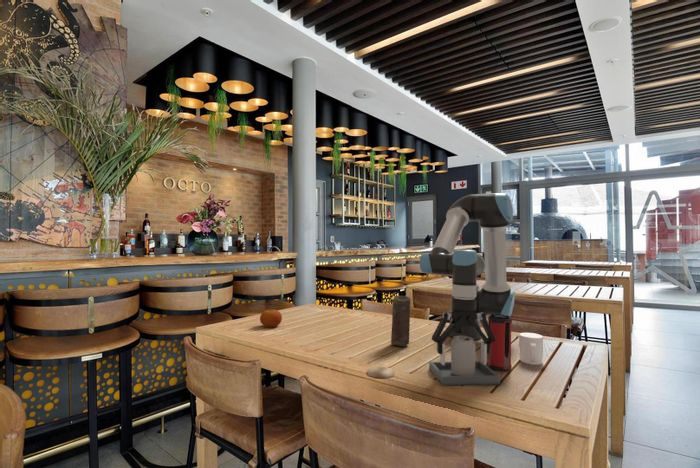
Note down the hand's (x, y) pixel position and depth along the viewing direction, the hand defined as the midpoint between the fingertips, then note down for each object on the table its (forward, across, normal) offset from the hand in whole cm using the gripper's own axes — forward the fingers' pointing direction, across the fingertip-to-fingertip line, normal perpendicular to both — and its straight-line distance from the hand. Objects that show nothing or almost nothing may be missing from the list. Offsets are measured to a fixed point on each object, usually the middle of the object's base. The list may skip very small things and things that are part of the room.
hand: (463, 363), depth 121 cm
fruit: (+4, +70, -68) cm, 98 cm away
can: (+4, 0, 0) cm, 4 cm away
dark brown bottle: (+4, +13, -35) cm, 38 cm away
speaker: (+4, -16, -8) cm, 18 cm away
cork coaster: (+4, +26, -4) cm, 27 cm away
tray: (+4, 0, 0) cm, 4 cm away
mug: (+4, -31, -14) cm, 34 cm away
